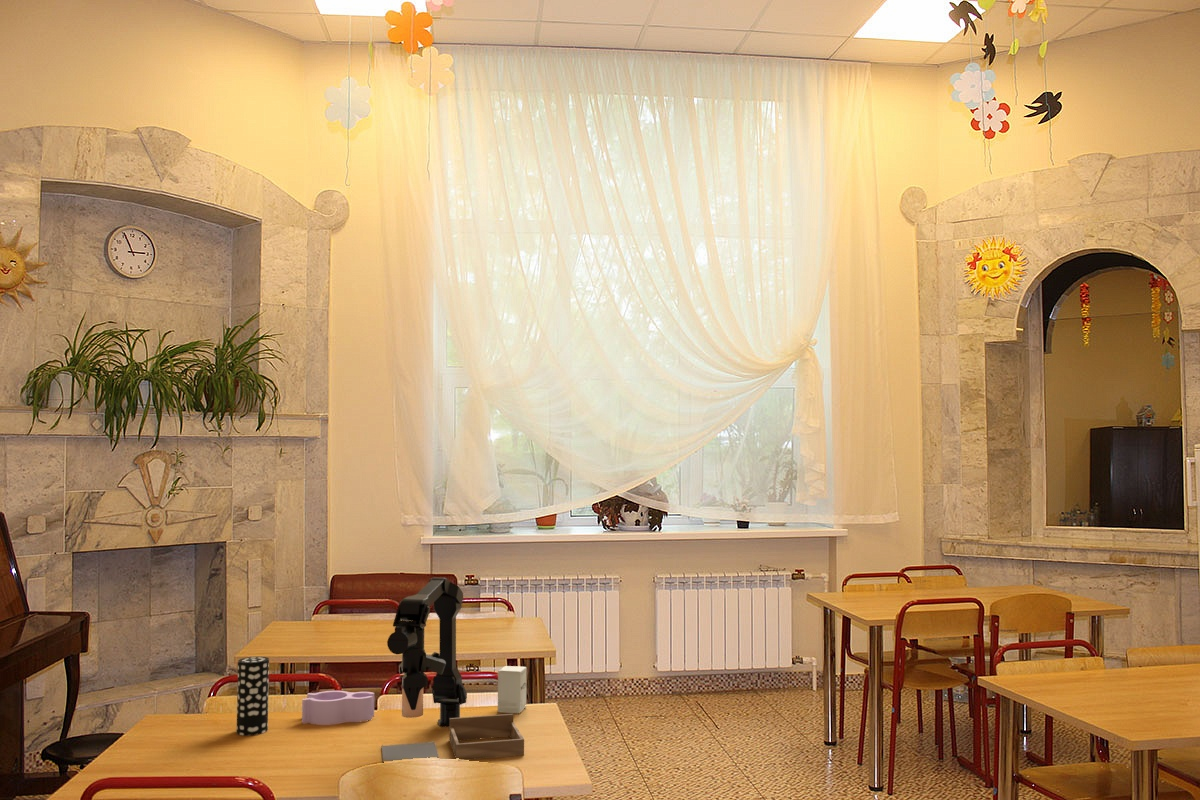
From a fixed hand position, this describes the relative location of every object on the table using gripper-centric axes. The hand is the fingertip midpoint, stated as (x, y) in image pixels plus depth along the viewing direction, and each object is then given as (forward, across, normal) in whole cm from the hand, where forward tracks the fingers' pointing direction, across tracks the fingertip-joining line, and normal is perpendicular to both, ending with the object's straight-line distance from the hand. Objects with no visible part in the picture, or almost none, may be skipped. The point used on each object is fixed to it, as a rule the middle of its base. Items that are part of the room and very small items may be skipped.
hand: (412, 706), depth 247 cm
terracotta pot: (+2, 0, 0) cm, 2 cm away
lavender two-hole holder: (+12, +39, +19) cm, 45 cm away
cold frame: (+12, 0, -19) cm, 23 cm away
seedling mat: (+12, 0, +1) cm, 12 cm away
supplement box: (+12, +35, -33) cm, 49 cm away
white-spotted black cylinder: (+12, +32, +42) cm, 55 cm away
